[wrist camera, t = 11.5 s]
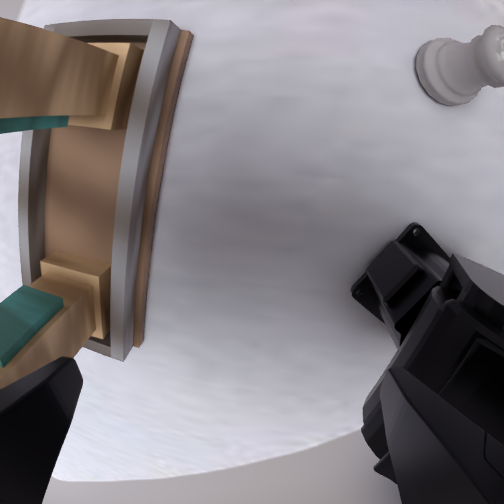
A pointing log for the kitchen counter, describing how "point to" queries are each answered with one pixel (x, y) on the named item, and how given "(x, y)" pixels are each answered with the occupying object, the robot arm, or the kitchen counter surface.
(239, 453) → the kitchen counter surface
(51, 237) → the weathered wooden tray
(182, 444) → the kitchen counter surface
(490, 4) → the kitchen counter surface
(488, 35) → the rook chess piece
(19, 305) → the oak finger
